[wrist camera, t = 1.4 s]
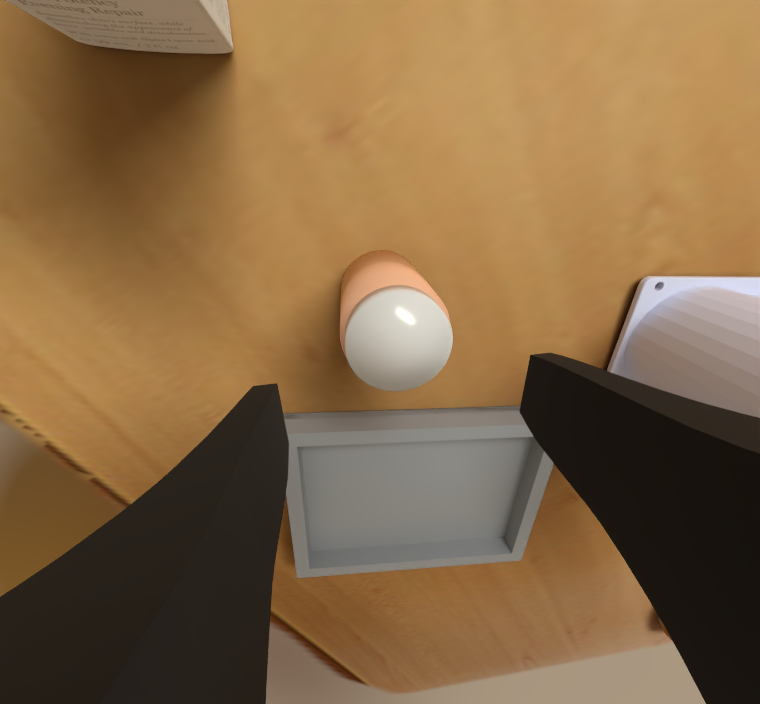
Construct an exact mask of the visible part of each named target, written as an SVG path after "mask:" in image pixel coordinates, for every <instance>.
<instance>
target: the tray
mask: <svg viewBox="0 0 760 704" xmlns="http://www.w3.org/2000/svg"><path fill="white" fill-rule="evenodd" d="M519 411H520V406H500V407H469V408H439V409H409V410H379V411H348V412H318V413H288V414H283V416H284V421H285V426H286V431H287V436H288V440H289V464H288V481H287V488H286V497H287V505H288V513H289V520H290V528H291V536H292V543H293V551H294V559H295V566H296V574H297V578H306V577H318V576H331V575H344V574H356V573H369V572H381V571H394V570H407V569H419V568H432V567H444V566H457V565H469V564H482V563H495V562H507V561H520V560H521V559H522V556H523V553H524V550H525V547H526V544H527V541H528V538H529V535H530V532H531V529H532V527H533V524H534V521H535V518H536V515H537V512H538V509H539V506H540V503H541V500H542V497H543V494H544V491H545V488H546V485H547V482H548V479H549V477H550V474H551V471H552V468H553V465H554V463H553V462H552V460H551V459H550V458H549V457H548V455H547V454H546V453H545V451H544V450H543V449H542V448H541V446H540V445H539V444H538V442H537V441H536V440H535V438H534V436H533V435H532V433H531V431H530V430H529V428H528V426H527V425H526V423H525V421H524V419H523V417H522V416H521V414H520V412H519Z"/></svg>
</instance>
